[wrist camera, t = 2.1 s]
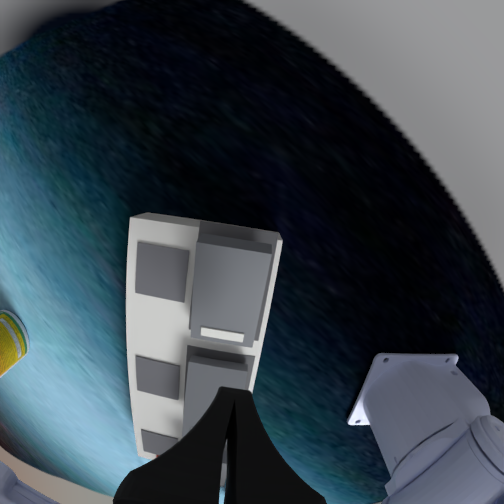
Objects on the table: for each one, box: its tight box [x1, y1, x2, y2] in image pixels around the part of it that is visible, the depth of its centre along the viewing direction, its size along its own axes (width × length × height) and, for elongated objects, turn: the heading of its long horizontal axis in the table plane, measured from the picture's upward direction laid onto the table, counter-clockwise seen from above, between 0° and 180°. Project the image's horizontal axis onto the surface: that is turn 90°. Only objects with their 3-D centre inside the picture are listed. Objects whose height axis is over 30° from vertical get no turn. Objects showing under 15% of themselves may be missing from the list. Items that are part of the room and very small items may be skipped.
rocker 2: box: [182, 355, 248, 444], centre depth 18 cm, size 4×6×2 cm, turn 171°
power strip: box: [126, 212, 283, 460], centre depth 20 cm, size 9×23×3 cm, turn 171°
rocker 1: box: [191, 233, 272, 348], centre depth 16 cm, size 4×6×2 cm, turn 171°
